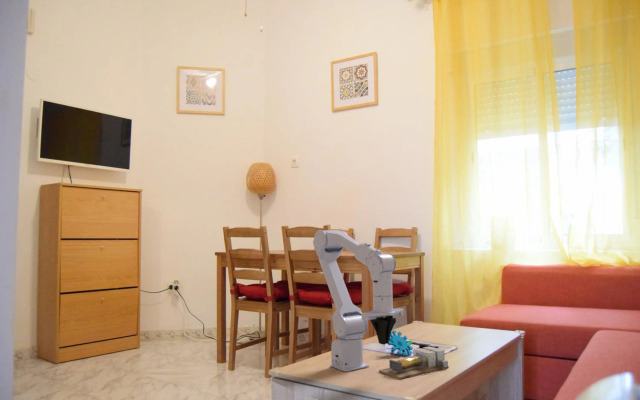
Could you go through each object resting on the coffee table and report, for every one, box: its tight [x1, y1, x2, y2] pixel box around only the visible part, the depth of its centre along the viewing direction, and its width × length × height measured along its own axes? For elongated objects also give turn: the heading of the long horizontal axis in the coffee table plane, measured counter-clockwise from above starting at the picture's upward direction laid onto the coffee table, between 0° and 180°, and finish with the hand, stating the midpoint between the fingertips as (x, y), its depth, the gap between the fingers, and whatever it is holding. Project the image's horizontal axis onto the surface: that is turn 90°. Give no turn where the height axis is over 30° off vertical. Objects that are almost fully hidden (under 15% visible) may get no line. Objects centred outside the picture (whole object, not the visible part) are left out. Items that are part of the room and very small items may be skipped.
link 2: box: [422, 346, 449, 367], centre depth 149 cm, size 3×8×4 cm, turn 34°
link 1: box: [412, 348, 436, 368], centre depth 148 cm, size 3×8×4 cm, turn 34°
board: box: [378, 362, 449, 380], centre depth 145 cm, size 20×9×1 cm, turn 124°
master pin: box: [389, 356, 422, 371], centre depth 143 cm, size 10×4×2 cm, turn 124°
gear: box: [387, 329, 414, 357], centre depth 166 cm, size 11×6×10 cm
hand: (383, 343), depth 139 cm, fingers closed
